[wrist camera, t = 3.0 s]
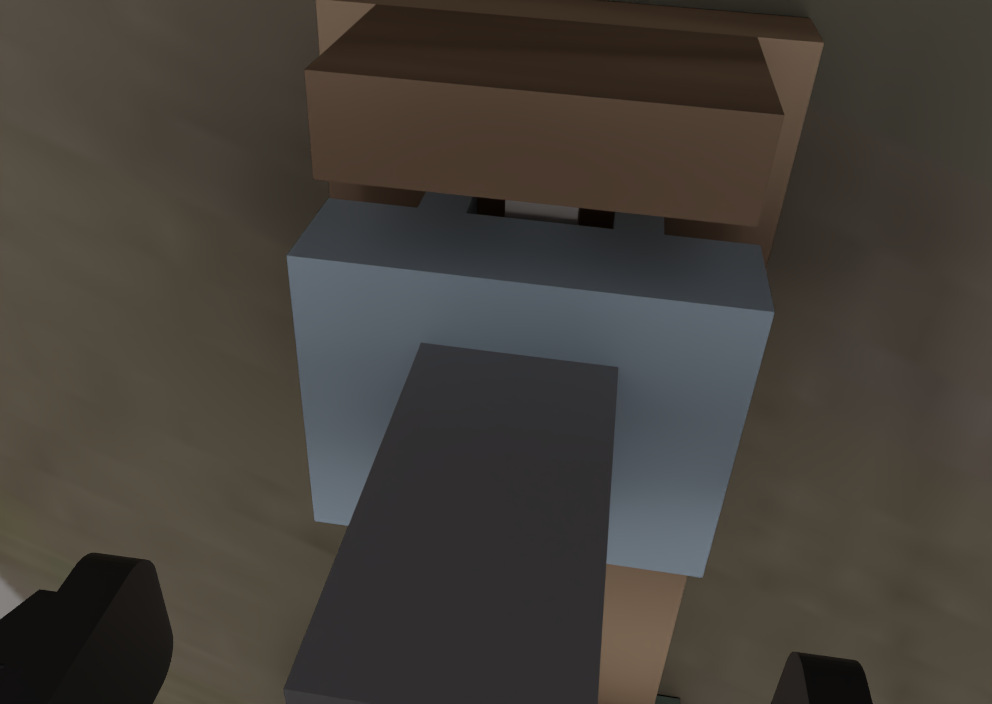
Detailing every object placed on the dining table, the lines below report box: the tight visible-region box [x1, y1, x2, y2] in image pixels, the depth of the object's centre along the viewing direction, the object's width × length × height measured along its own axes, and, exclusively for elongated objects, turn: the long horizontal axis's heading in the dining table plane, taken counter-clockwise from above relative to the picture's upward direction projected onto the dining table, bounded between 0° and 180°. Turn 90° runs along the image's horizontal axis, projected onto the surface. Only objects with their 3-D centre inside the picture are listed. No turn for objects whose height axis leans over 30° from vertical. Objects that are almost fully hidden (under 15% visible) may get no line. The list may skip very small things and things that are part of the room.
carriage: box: [284, 192, 775, 704], centre depth 13 cm, size 6×7×9 cm
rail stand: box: [304, 0, 824, 704], centre depth 18 cm, size 19×8×5 cm, turn 177°
